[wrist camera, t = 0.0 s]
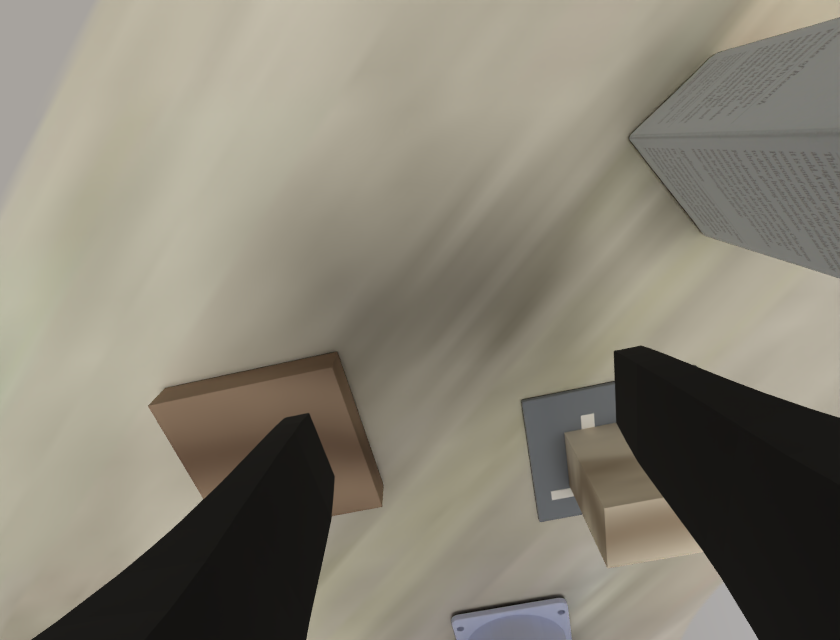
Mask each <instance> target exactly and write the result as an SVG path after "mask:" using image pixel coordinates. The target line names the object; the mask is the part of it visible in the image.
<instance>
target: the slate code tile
mask: <svg viewBox="0 0 840 640" xmlns="http://www.w3.org/2000/svg"><path fill="white" fill-rule="evenodd" d="M695 366H696V365H695ZM696 367H697V366H696ZM521 402H522V409H523V416H524V423H525V429H526V436H527V443H528V450H529V457H530V464H531V470H532V477H533V484H534V491H535V498H536V504H537V511H538V518H539V522H543V521H549V520H554V519H560V518H565V517H571V516H577V515H582V512H581V510H580V508H579V506H578V503H577V501H576V499H575V497H574V495H573V493H572V490H571V488H570V485H569V475H568V465H567V455H566V445H565V435H564V433H565V432H570V431H575V430H581V429H586V428H591V427H596V426H601V425H606V424H612V423H616V403H615V382H610V383H605V384H600V385H595V386H590V387H584V388H579V389H574V390H569V391H564V392H559V393H554V394H549V395H544V396H539V397H534V398H529V399H524V400H521Z"/></svg>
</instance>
